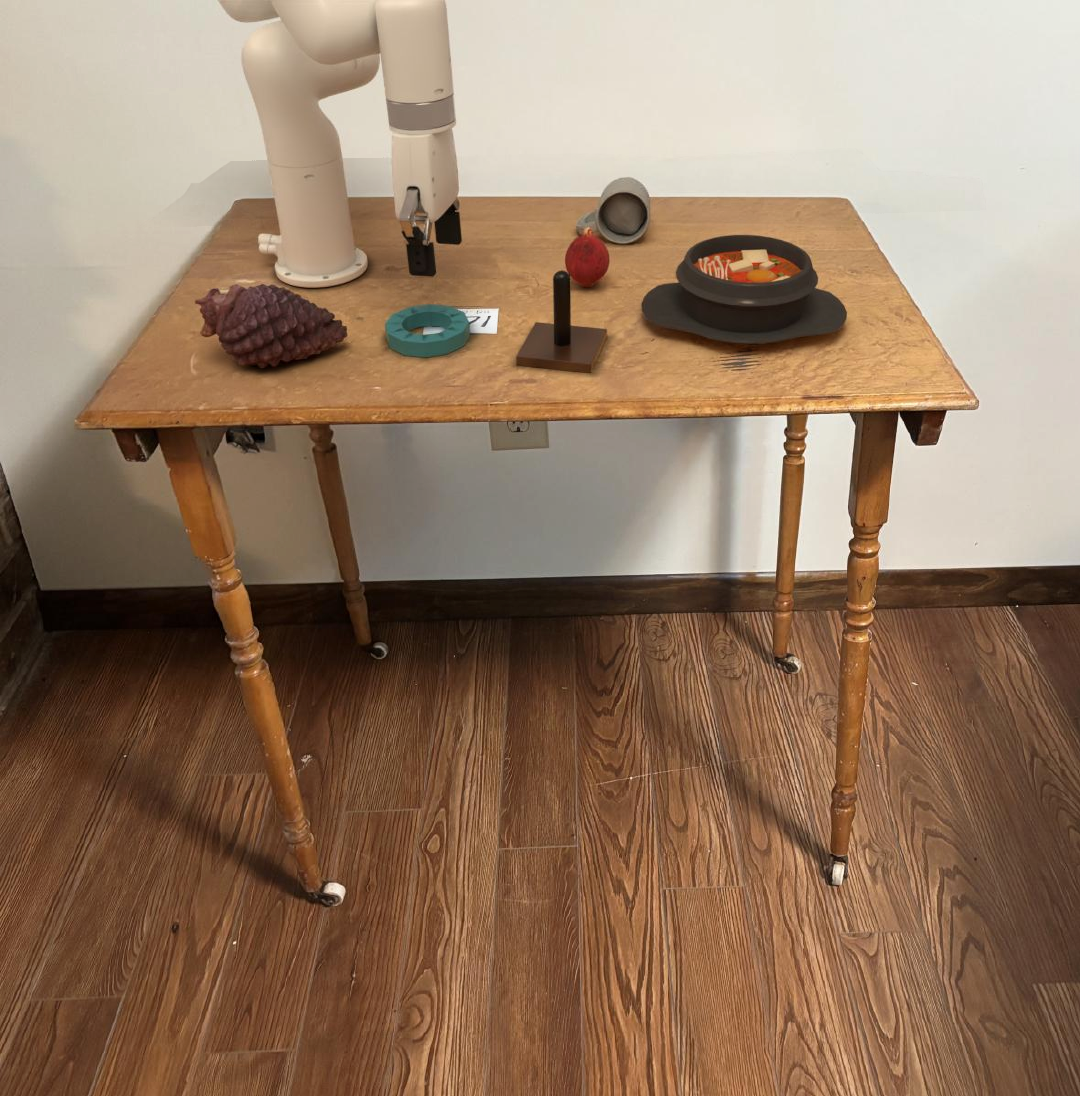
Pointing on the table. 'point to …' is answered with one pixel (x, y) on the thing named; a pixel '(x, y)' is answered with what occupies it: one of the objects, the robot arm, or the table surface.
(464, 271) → the table surface
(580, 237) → the onion
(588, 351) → the stand
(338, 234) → the robot arm
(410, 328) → the ring
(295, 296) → the pine cone
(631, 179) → the ceramic mug
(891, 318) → the table surface
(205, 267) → the table surface
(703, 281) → the casserole
